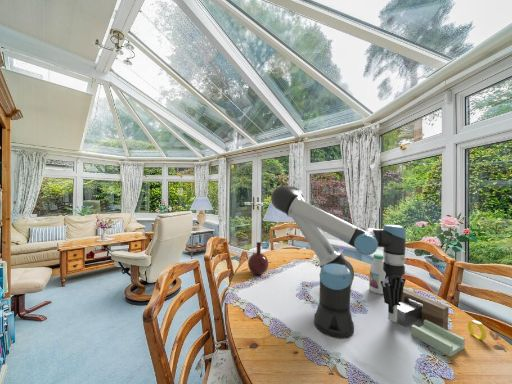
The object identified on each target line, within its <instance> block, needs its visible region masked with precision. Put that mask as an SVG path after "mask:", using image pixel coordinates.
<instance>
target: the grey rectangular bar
mask: <svg viewBox="0 0 512 384" xmlns="http://www.w3.org/2000/svg"><path fill="white" fill-rule="evenodd" d="M399 304H401V305H400V306H399V305H397V322H396V323H397V324H399V325H401V326H402V327H407V326H410V325H413V324H414V323H417V322H419V321H422V305H423V304H421V303H418V302H416V301H414V300H411V299H408V300H405V301H402V302H399Z"/></svg>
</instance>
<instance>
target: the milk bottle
mask: <svg viewBox="0 0 512 384" xmlns="http://www.w3.org/2000/svg"><path fill="white" fill-rule="evenodd" d="M383 262H384V260H383V255H382V254H378V253H377V254H376V253H375V254H374V253H373V262H372V264H371V265H370V269H369V283H368V285H369V286H368V287H369V291H371V292H372V293H375V294H379V295H383V288H382V285H381V281H383V282H384V280H385V275H386V273H385V271H384V270H383Z"/></svg>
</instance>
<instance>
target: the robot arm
mask: <svg viewBox="0 0 512 384" xmlns="http://www.w3.org/2000/svg"><path fill="white" fill-rule="evenodd" d="M305 200H306V199H304V194H303V192H302V191H301V190H300V189H299V188H298V187H295V186H291V185H290V186H286V185H285V186H283V185H281V186H278V187H276V188H274V190H273V191H272V192H271V195H270V201H271V204H272V206H273V207H274V208H275V209H276V210H278V211H280V212H282V213H284V214H286V216H287V217H289V218H292V220H293V221H294V223H295V224H296V226H297V228H298V230H299V231H300V233H301V234H302V235H303V237H304V239H305V240H306V241H307V243H308V245H309V247H310V248H311V250H312V251H313V252H314V254H315V256H316V257H317V258H318V260H319V264H318V266H319V268H320V272H319V294H318V295H319V297H318V299H319V301H318V302H319V303H318V305H317V306H318V307H317V308H316V312H315V313H314V317H313V318H314V319H313V322H314V326H315V327H316V329H317V330H318V331H319V332H321V333H322V334H324V335H326V336H329V337H331V338H335V339H347V338H348V339H349V338H350V337H352V336H353V335H354V333H355V322H354V321H353V318H352V317H353V316H352V313H351V291H352V286H353V283H354V277H355V271H354V267H353V265H352V264H351V262H350V261H349V260H347V259H345V257H344V256H343V254H342V253H341V252H339V251H336V250H335V248H334V247H333V246H332V244H331V243H330V241H329V240H328V238H327V237H326V235H325V234H324V232H325V233H327V234H328V235H330V236H332V237H334V238H336V239H339V240H340V241H342V242H344V243H346V244H347V245H349V246H352V247H353V248H354V249H355V250H356V251H357V252H358V253H359V254H361V255H363V256H370V255H374V253H375V252H377V249H378V248H383V250H382V251H383V255H382V256H383V270H384V271H385V273H386V275H385V280H384V282H383V281H381V285H382V288H383V294H382V295H383V301H384V304H387V305H388V306H387V307H388V310H387V311H388V312H387V314H388V320H389V321H391V322H394V323H397V305H399V306H400V305H401V304H399V302H401V301H402V295H403V289H405V288H404V287H405V283H406V278H404V277H403V276H404V275H405V274H406V271H405V270H406V266H405V264H406V263H405V262H406V238H407V237H406V228H405V227H404V226H402V225H399V224H384V226H383V228H372V227H371V228H370V227H362V226H356V225H354V224H351V223H350V222H348V221H346V220H343V219H341V218H339V217H337V216H335V215H333V214H331V213H329V212H326V211H325V210H323V209H321V208H319V207H317V206H315V205H312V204H310V203H309V202H306V201H305Z"/></svg>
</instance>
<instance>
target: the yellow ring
mask: <svg viewBox="0 0 512 384" xmlns="http://www.w3.org/2000/svg"><path fill="white" fill-rule="evenodd" d="M473 325H475V326H477V327H478V328H479V330H480V333H481V336H480V337H479V335H477V334H476V333H475V332H474V329H473ZM467 329H468V332H469V333H470V335H471V336H473V337H474V338H476V339H477V340H478V341H484V340H486V338H487V332H486V329H485V327H484V326H483V323H482V322H481V321H479V320H475V319H472V320H470V321H469V322H468V323H467Z"/></svg>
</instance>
